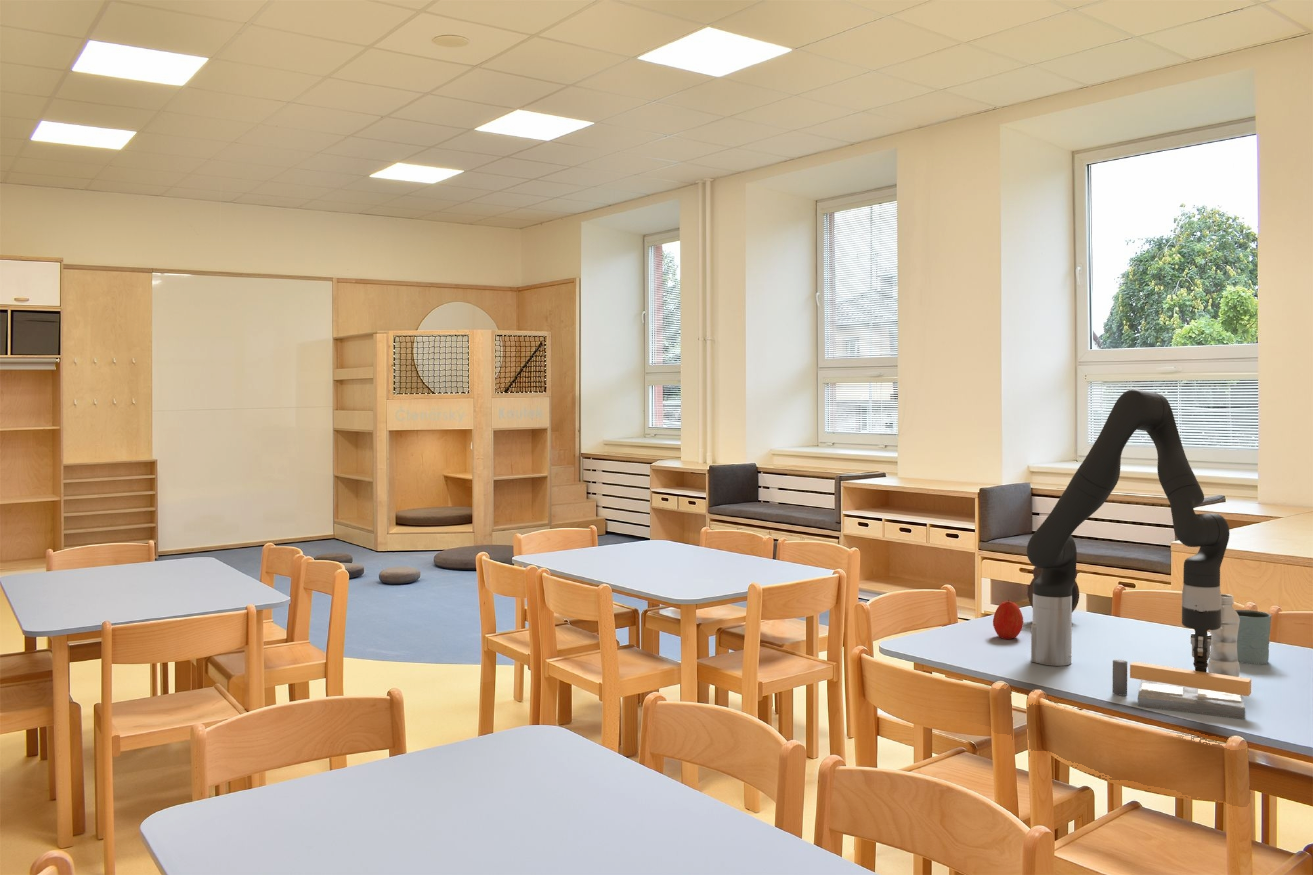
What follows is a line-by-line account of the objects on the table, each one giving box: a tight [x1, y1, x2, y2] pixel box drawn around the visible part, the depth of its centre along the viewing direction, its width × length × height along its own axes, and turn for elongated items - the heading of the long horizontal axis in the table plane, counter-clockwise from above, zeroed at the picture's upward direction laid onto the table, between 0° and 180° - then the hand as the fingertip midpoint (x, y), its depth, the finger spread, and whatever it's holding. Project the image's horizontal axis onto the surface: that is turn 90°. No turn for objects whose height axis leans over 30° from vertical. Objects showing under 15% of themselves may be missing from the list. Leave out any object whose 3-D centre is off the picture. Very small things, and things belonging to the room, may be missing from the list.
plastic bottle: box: [1207, 593, 1241, 677], centre depth 239 cm, size 6×7×20 cm
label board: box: [1137, 680, 1246, 720], centre depth 221 cm, size 20×16×2 cm
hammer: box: [1112, 659, 1252, 697], centre depth 220 cm, size 27×3×7 cm, turn 50°
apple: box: [992, 599, 1024, 640], centre depth 284 cm, size 8×8×11 cm
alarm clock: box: [1027, 566, 1080, 613], centre depth 305 cm, size 14×7×20 cm, turn 105°
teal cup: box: [1235, 609, 1272, 665], centre depth 258 cm, size 10×10×12 cm
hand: (1200, 683), depth 221 cm, fingers closed
